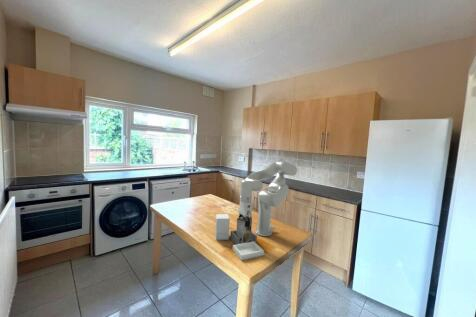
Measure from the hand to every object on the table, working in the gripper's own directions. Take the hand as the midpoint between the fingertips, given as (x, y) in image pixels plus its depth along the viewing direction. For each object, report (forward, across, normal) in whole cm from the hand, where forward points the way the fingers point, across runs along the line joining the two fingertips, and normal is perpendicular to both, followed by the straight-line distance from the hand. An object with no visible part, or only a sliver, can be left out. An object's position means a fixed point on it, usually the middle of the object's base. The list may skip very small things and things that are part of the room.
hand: (243, 223), depth 132 cm
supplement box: (+12, +10, +11) cm, 20 cm away
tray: (+12, -14, +3) cm, 19 cm away
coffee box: (+12, 0, -1) cm, 12 cm away
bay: (+12, 0, -1) cm, 12 cm away
